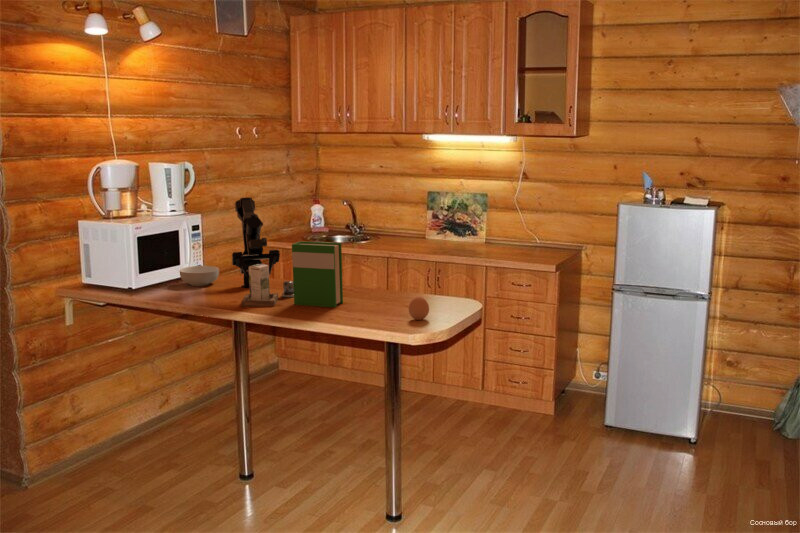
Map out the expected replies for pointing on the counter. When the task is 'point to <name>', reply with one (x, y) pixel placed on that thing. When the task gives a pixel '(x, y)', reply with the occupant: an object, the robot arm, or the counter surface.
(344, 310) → the counter surface
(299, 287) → the hardback book
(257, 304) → the socket tray
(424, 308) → the egg
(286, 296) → the chuck post
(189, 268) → the cereal bowl
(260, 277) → the syrup box
